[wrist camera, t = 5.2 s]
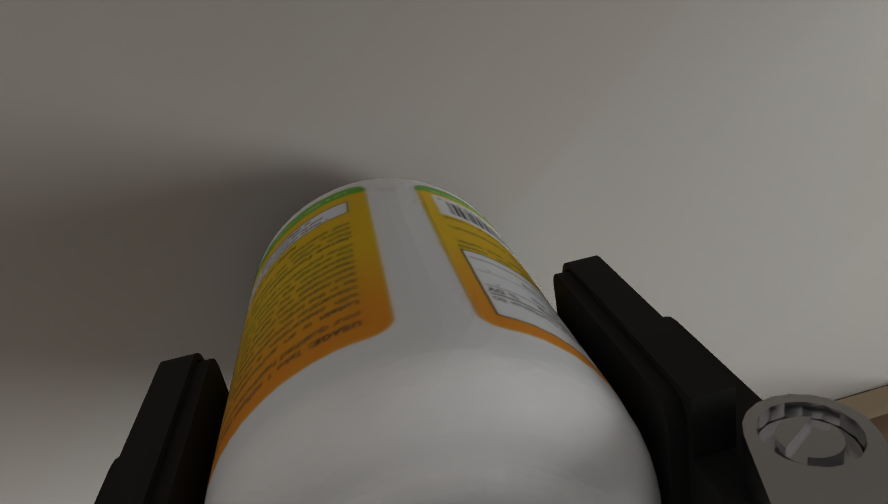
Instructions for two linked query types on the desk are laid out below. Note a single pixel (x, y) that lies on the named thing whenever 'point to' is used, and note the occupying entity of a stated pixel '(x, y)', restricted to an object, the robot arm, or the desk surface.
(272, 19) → the desk surface
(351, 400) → the supplement bottle
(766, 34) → the desk surface
